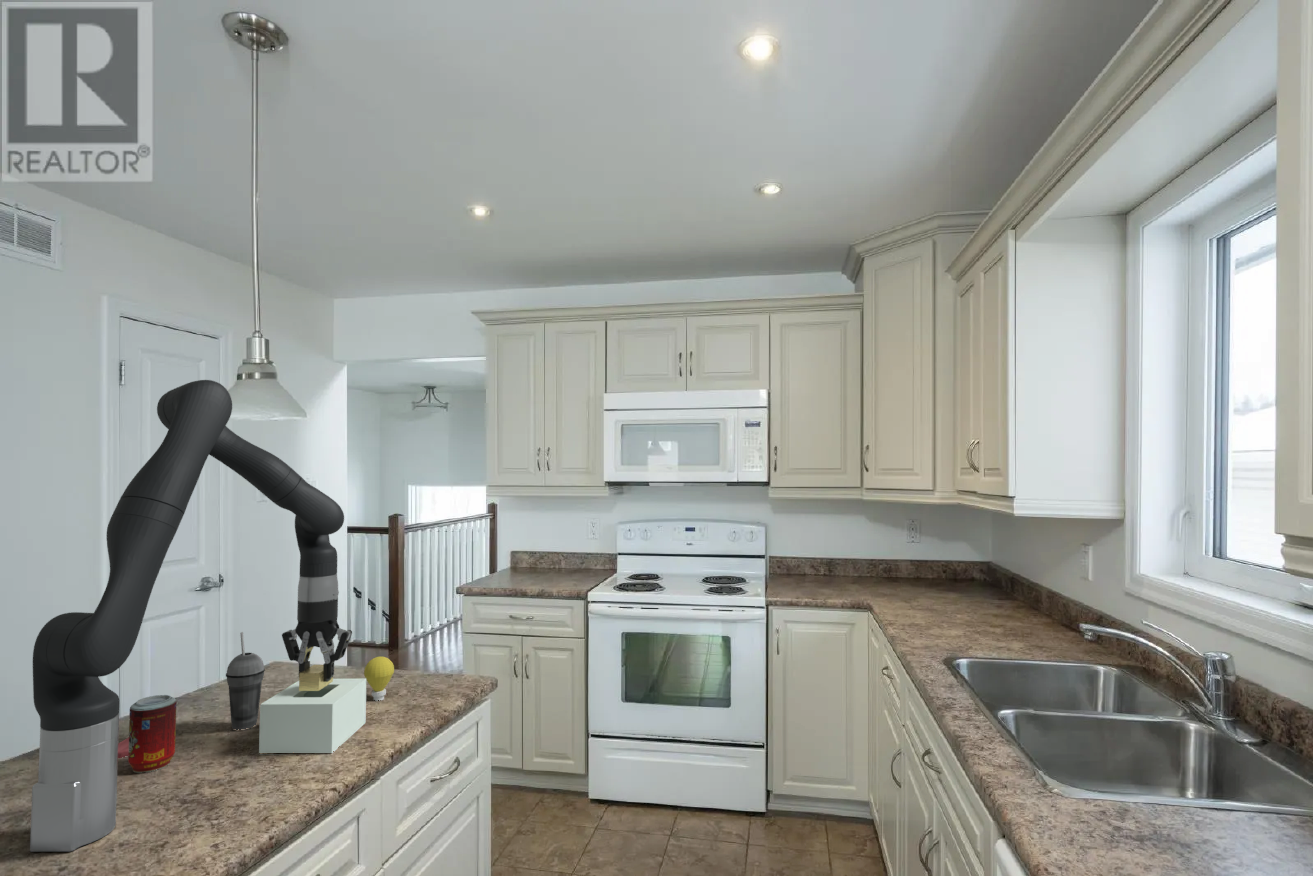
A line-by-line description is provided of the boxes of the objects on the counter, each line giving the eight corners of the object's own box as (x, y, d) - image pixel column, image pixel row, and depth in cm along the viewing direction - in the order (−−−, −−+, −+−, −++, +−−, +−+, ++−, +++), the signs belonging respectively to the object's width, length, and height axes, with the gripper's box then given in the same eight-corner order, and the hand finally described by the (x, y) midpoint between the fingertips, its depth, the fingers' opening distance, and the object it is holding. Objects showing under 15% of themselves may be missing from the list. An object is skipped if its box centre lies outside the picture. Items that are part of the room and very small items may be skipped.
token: (318, 690, 138) (319, 673, 138) (299, 690, 138) (299, 673, 138) (332, 681, 144) (333, 664, 144) (313, 681, 144) (314, 664, 144)
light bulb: (363, 697, 165) (363, 655, 166) (392, 693, 168) (393, 652, 168) (363, 705, 159) (364, 662, 159) (394, 701, 162) (395, 658, 162)
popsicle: (178, 723, 145) (128, 752, 131) (177, 730, 145) (127, 761, 130) (152, 723, 145) (98, 753, 130) (151, 731, 145) (98, 761, 130)
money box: (331, 753, 133) (332, 704, 133) (259, 754, 132) (260, 704, 133) (365, 722, 149) (366, 678, 149) (300, 723, 148) (301, 678, 149)
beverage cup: (245, 734, 142) (247, 637, 143) (215, 732, 143) (218, 635, 144) (271, 722, 149) (273, 629, 150) (243, 719, 151) (245, 627, 151)
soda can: (122, 767, 127) (125, 700, 127) (168, 755, 132) (170, 690, 133) (133, 778, 122) (136, 708, 123) (180, 765, 128) (182, 698, 128)
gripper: (273, 600, 138) (271, 686, 137) (344, 600, 138) (342, 686, 137) (292, 593, 145) (291, 675, 145) (360, 593, 146) (358, 675, 145)
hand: (316, 680), depth 141 cm, fingers closed on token, 4 cm apart
